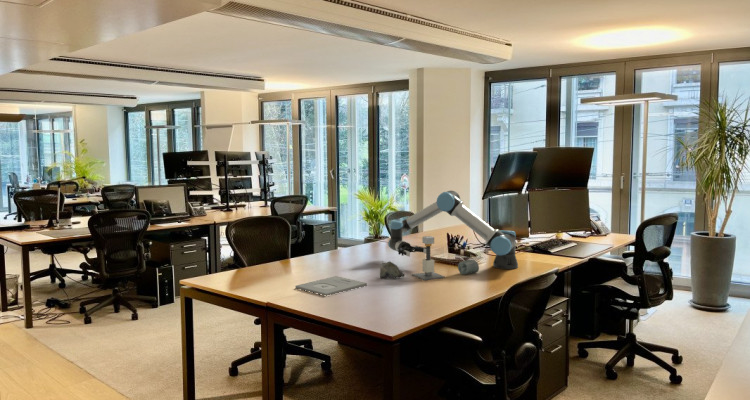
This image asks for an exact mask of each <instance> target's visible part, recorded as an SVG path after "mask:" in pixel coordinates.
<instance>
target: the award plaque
mask: <svg viewBox="0 0 750 400" xmlns="http://www.w3.org/2000/svg"><path fill="white" fill-rule="evenodd" d="M364 286H365V287H367V286H368V283H367V282H364V281H360V280H355V279H351V278H347V277H344V276H343V277H342V276H339V275H334V276H331V277H330V276H329V277H327V278H322V279H318V280H315V281H308V282H306V283H301V284H297V285H295V289H296V288H298V289H301V290H300V291H302V290H306V291H310V292H314V293H318V294H322V295H326V296H327V295H330V294H335V293H339V292H343V291H346V292H348V291H347V290H350V291H352V290H351V289H354V290H356V289H355V288H357V289H360V288H359V287H361V288H364ZM298 289H297V290H298ZM306 291H305V292H306ZM310 292H309V293H310ZM343 293H344V292H343ZM339 294H340V293H339ZM335 295H336V294H335Z"/></svg>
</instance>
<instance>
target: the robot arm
mask: <svg viewBox="0 0 750 400" xmlns="http://www.w3.org/2000/svg"><path fill="white" fill-rule="evenodd" d="M442 212H445V213H446V214H448V215H449V216H451V217H456V218H457V219H458V220H460V221H461V222H462V223H463V224H464V225H465V226H467V227H468V228H469V229H471V230H472V231H473V232H474V233H476V234H477V235H478V236H480V238H482V239H483V240H484V241H485V245H487V246H488V247H489V248H490V250H491V251H492V252H493V254H495V257H494V260H493V262H492V263H493V267H494V268H496V269H500V270H514V269H518V267H519V263H518V260H517V256H516V237H517V235H516V234H517V233H516V232H515V230H502V229H501V230H500V229H498V228H497V229H496V228H495V229H494V228H493V227H492V226H490V224H489V223H487V222H485V221H484V219H482V218H481V217H479V216H478V215H477V214H476V213H474V212H473V211H472V210H470V208H468V207H466V206H465V205H464V200H461V197H460V195H459V192H456V191H454V190H448V191H443V192H441V193H440V194H439V195H438V196H437V198H436V201H434V202H433V203H432V204H430V205H428V206H426V207H424V208H423V209H421V210H419V211H418V212H415V213H413V214H412V215H411V216H408V217H407V218H405V219H404V220H398V219H396V220H395V219H394V220H391V222H390V239H389V240H388V243H387V244H388V248H389V249H391V250H392V251H396V252H398V253H397V254H398V255H401V257H402V256H406V257H411V253H417V252H418V253H423V254H425V255H426V246H424V247H423V246H417V245H415V246H412V245H411V244H410V242H406V241H404V240H403V234H404V233H407V232H409V231H411V230H412V229H414V228H415V227H417V226H419V225H421V224H422V223H424V222H427V221H428V220H429V219H431V218H434V217H436V216H437V215H439V214H441V213H442Z"/></svg>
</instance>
